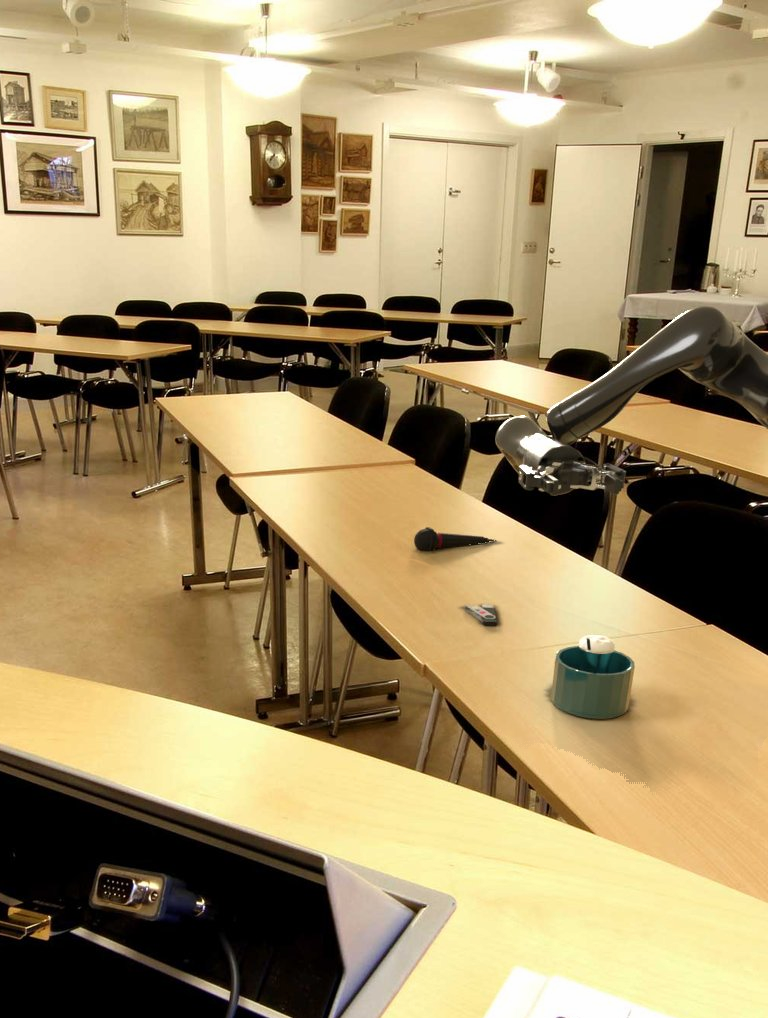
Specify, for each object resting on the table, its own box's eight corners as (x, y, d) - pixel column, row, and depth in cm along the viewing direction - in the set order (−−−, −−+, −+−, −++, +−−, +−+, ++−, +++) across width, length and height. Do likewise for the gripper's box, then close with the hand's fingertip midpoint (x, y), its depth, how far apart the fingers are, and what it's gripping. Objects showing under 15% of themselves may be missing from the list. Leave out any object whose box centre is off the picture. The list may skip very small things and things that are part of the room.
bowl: (581, 680, 134) (586, 640, 132) (643, 705, 126) (650, 662, 124) (535, 698, 129) (540, 657, 127) (597, 725, 121) (603, 681, 119)
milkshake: (564, 699, 127) (571, 634, 124) (582, 687, 131) (590, 622, 127) (595, 709, 124) (604, 643, 121) (612, 696, 128) (622, 631, 124)
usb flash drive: (496, 627, 155) (497, 621, 154) (465, 625, 156) (465, 620, 155) (494, 608, 162) (494, 603, 162) (464, 607, 163) (464, 602, 163)
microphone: (492, 555, 202) (409, 554, 197) (492, 529, 202) (410, 527, 197) (505, 555, 197) (421, 553, 192) (506, 528, 196) (421, 526, 191)
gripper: (508, 441, 141) (538, 462, 126) (601, 439, 141) (641, 460, 126) (504, 489, 144) (533, 515, 129) (595, 487, 144) (634, 513, 129)
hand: (586, 488), depth 127 cm, fingers open, 8 cm apart
